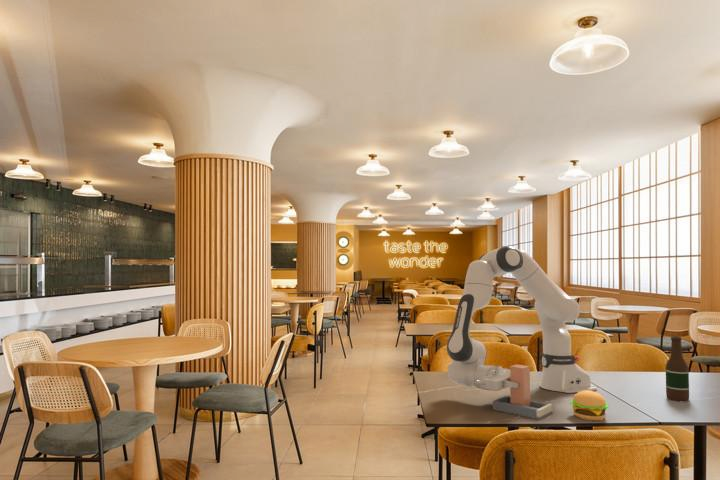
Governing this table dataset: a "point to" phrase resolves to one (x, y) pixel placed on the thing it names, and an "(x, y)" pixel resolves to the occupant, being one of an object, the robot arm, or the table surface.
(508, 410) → the slot board
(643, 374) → the table surface
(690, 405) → the table surface
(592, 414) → the hamburger
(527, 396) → the post
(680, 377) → the beer bottle
